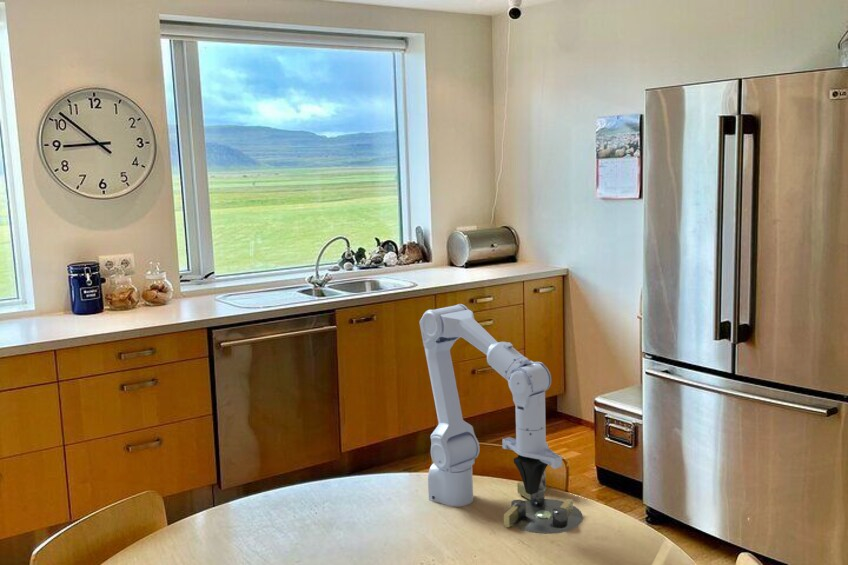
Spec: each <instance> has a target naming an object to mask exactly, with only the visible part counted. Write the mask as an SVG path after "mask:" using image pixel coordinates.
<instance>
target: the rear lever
mask: <svg viewBox="0 0 848 565" xmlns="http://www.w3.org/2000/svg"><path fill="white" fill-rule="evenodd" d="M516 487H517V494H518V495H521V496H523V497H524V498H526V500H530V502H531V505H532V506H536V507H540V506H543V505H544V504H545V499H546V498H545V491H544V490H543V489H538V492H537V493H535V494H532V495H530V494H528V493H526V491H525V487H524V484H523V480H522V481H518V482H517V486H516Z"/></svg>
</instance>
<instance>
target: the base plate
mask: <svg viewBox="0 0 848 565" xmlns="http://www.w3.org/2000/svg"><path fill="white" fill-rule="evenodd" d="M524 501H525V502H526V517H525V518H522V519H517V520H516V521H515V522H514V523H513V524H512V525H511V526H512V527H514V528H516V529H518V530H520V531H523V532H527V533H532V534H540V535H542V534H545V535H548V534H549V535H551V534H552V535H553V534H561V533H566V532H568V531H571V530H574V529H576V528H577V527H578V526H580V525H581V523H582V522H583V520H584V515H583V513H582V511H581V510H580V509H579V508H578V507H576V506H574V505H573V511H572V512H571V514H570V515H569V516H568V525H567V526H566V527H556V526H554V525H553V518H552V510H553V509H554V508H560V507H561V505H562V504H563V503H564V502H565V501H563V500H558V499H551V498H545V504H544V505H543V506H540V507H536V506H532V505H531V502H530V500H529V499H525V500H524ZM510 508H511V505H510V506H509V507H508V508H507V509H506V511H505V512H504V514H505V513H506V512H507V511H508V510H509V509H510Z"/></svg>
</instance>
